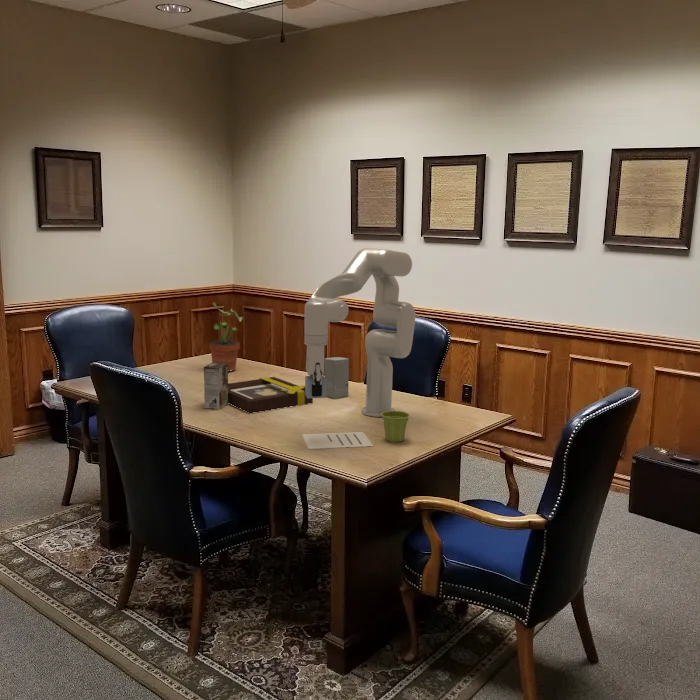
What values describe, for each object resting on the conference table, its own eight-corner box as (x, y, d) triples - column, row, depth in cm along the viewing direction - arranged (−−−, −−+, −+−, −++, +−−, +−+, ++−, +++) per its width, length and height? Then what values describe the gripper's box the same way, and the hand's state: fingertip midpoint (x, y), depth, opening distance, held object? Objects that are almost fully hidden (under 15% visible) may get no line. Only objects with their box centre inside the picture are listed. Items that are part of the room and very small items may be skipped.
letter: (301, 435, 240) (301, 434, 240) (362, 432, 244) (362, 431, 244) (308, 449, 226) (308, 448, 226) (373, 446, 230) (373, 445, 230)
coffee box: (213, 402, 278) (212, 361, 275) (228, 403, 277) (228, 362, 274) (203, 408, 270) (203, 366, 267) (219, 409, 268) (219, 367, 265)
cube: (305, 393, 237) (305, 376, 236) (323, 393, 238) (323, 375, 237) (307, 398, 231) (307, 380, 230) (325, 397, 232) (325, 379, 231)
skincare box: (333, 399, 288) (334, 360, 285) (322, 395, 293) (323, 357, 290) (349, 396, 293) (350, 358, 290) (338, 392, 298) (339, 355, 296)
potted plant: (226, 375, 325) (226, 298, 318) (202, 371, 333) (201, 295, 326) (249, 370, 338) (249, 295, 331) (225, 365, 346) (225, 293, 339)
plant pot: (381, 434, 243) (382, 409, 241) (409, 436, 242) (410, 411, 240) (379, 443, 234) (380, 417, 232) (408, 444, 233) (409, 419, 231)
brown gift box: (273, 374, 302) (315, 388, 279) (273, 389, 304) (314, 404, 280) (213, 382, 285) (251, 398, 262) (213, 398, 286) (252, 416, 263)
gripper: (301, 334, 239) (301, 387, 242) (307, 344, 222) (307, 400, 226) (323, 334, 240) (323, 387, 244) (331, 344, 223) (330, 400, 227)
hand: (315, 393), depth 235 cm, fingers closed on cube, 6 cm apart
